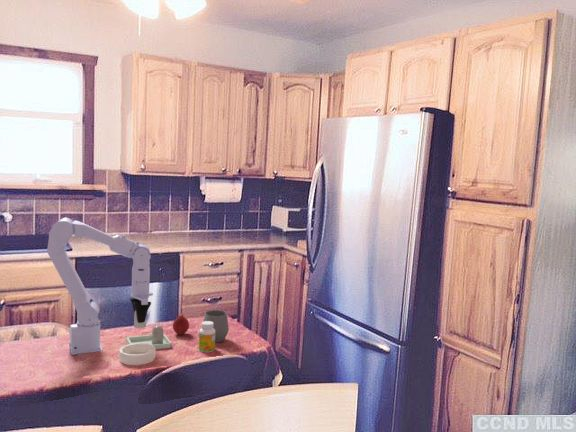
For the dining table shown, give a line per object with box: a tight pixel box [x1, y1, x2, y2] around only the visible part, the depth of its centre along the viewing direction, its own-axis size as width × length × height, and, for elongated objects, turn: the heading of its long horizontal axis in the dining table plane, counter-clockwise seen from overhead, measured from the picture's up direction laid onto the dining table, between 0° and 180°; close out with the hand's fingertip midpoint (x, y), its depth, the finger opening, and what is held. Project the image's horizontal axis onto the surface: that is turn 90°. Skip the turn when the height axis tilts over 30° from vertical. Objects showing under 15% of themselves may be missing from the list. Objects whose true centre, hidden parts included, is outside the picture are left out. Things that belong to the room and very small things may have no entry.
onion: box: [172, 313, 190, 336], centre depth 196 cm, size 6×6×8 cm
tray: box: [125, 332, 173, 350], centre depth 184 cm, size 13×11×2 cm
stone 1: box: [133, 310, 147, 329], centre depth 182 cm, size 4×4×6 cm
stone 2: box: [151, 324, 164, 345], centre depth 185 cm, size 4×4×6 cm
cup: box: [202, 309, 230, 343], centre depth 192 cm, size 10×9×10 cm
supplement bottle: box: [198, 320, 216, 353], centre depth 182 cm, size 5×5×10 cm
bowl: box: [118, 343, 157, 366], centre depth 171 cm, size 11×11×4 cm
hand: (139, 320), depth 182 cm, fingers closed on stone 1, 4 cm apart
